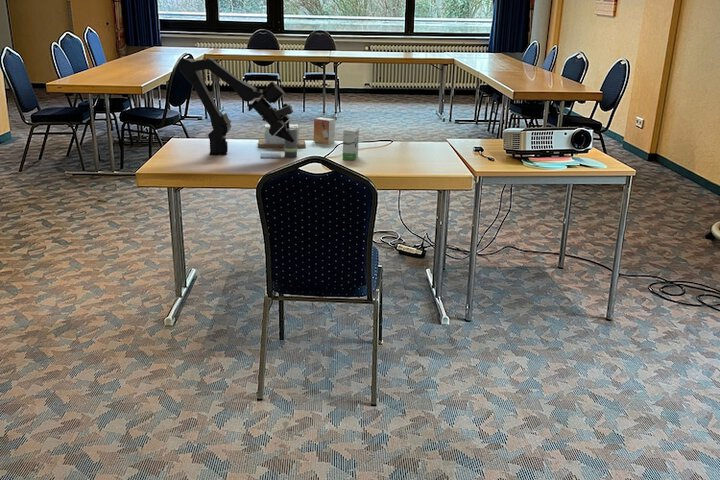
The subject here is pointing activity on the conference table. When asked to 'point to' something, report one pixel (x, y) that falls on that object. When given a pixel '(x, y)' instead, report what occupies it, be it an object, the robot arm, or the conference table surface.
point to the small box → (324, 130)
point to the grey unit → (278, 139)
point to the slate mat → (270, 155)
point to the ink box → (350, 143)
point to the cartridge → (291, 144)
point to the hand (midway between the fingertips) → (294, 140)
